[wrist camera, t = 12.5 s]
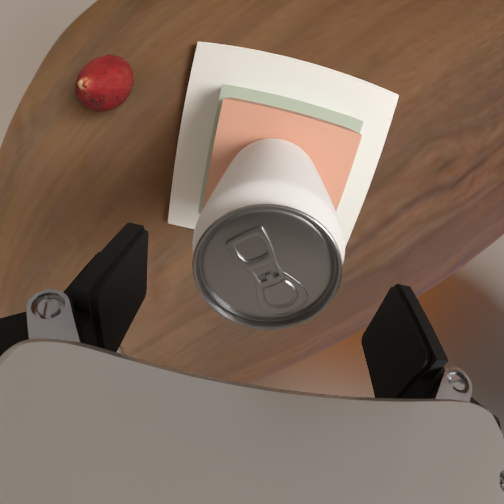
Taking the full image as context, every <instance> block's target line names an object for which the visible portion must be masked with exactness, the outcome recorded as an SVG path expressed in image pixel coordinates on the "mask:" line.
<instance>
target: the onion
mask: <svg viewBox="0 0 504 504" xmlns="http://www.w3.org/2000/svg"><path fill="white" fill-rule="evenodd" d="M133 82H134V81H133V71H132V69H131V67H130V65H129V63H128V62H126V61H125V60H124V59H123V58H121V57H119V56H113V55H106V56H102V57H98V58H95V59H93V60H92V61H91V62H89V63H88V64H87V65H85V67H84V68H83V69H82V71H81V72H80V73H79V75H78V78H77V81H76V94H77V96H78V99H79V100H80V102H81V103H82V104H83V105H84V106H85V107H87V108H89V109H92V110H95V111H107V110H112V109H114V108H116V107H117V106H119V105H120V104H122V103H123V102H124V101H125V100H126V98H127V97H128V95H129V94H130V92H131V89H132V86H133Z"/></svg>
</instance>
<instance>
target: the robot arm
mask: <svg viewBox="0 0 504 504" xmlns="http://www.w3.org/2000/svg"><path fill="white" fill-rule="evenodd" d="M147 252H148V231H146V230H144V226H142V225H138V224H134V223H127V224H126V225H125V226H124V227H123V228H122V230H121V231H120V232H119V233H118V234H117V235H116V236H115V237H114V238H113V239H112V240H111V241H110V242H109V243H108V244H107V246H106V247H105V248H104V249H103V250H102V251H101V252H99V253H97V254H96V255H95V256H94V257H93V259H92V260H91V261H90V262H89V263H88V264H87V265H86V266H85V268H84V269H83V270H82V271H81V272H80V273H79V275H78V276H77V277H76V278H75V279H74V280H73V282H72V283H71V284H70V285H69V286H68V288H67V289H66V290H65V291H64V292H62V291H59V290H55V289H46V290H43V291H39V292H38V293H36V294H34V295H33V296H32V297H31V298H30V299H29V301H28V303H27V308H26V312H23V313H19V314H16V315H12V316H8V317H4V318H0V504H504V436H503V435H502V433H501V427H500V422H499V420H498V418H497V417H496V416H495V415H493V414H492V413H491V412H489V411H488V410H487V409H486V408H484V407H483V406H482V405H480V404H479V403H478V402H477V401H476V400H474V399H473V398H472V397H471V394H472V384H471V381H470V379H469V377H468V376H467V375H466V374H465V373H464V372H463V371H462V370H460V369H458V368H456V367H448V368H447V369H446V370H445V369H444V365H445V364H446V363H447V362H448V359H447V357H446V354H445V352H444V350H443V349H442V346H441V344H440V342H439V340H438V338H437V336H436V334H435V332H434V330H433V328H432V326H431V324H430V322H429V320H428V318H427V316H426V314H425V312H424V311H423V309H422V307H421V305H420V303H419V301H418V300H417V298H416V296H415V294H414V292H413V291H412V289H411V288H410V287H409V286H405V285H400V284H396V285H395V286H394V287H391V288H390V290H389V291H388V293H387V295H386V297H385V298H384V300H383V302H382V304H381V306H380V307H379V309H378V311H377V312H376V314H375V316H374V317H373V319H372V321H371V322H370V324H369V326H368V327H367V329H366V331H365V332H364V334H363V336H362V346H363V350H364V354H365V358H366V361H367V365H368V369H369V373H370V377H371V382H372V386H373V390H374V394H375V398H368V397H350V396H338V395H326V394H315V393H307V392H298V391H290V390H283V389H275V388H269V387H263V386H257V385H250V384H245V383H240V382H234V381H229V380H224V379H219V378H214V377H209V376H205V375H200V374H196V373H191V372H187V371H183V370H179V369H175V368H171V367H167V366H164V365H160V364H156V363H152V362H148V361H145V360H141V359H137V358H134V357H130V356H127V355H124V354H123V353H122V350H121V348H120V347H119V346H120V344H121V342H122V340H123V338H124V336H125V334H126V332H127V330H128V329H129V327H130V325H131V323H132V321H133V319H134V317H135V315H136V313H137V311H138V309H139V308H140V306H141V304H142V302H143V300H144V298H145V295H146V289H147Z"/></svg>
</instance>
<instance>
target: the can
mask: <svg viewBox="0 0 504 504" xmlns="http://www.w3.org/2000/svg"><path fill="white" fill-rule="evenodd" d="M192 248H193V263H192V268H193V276H194V280H195V283H196V286H197V288H198V290H199V292H200V294H201V296H202V297H203V299H204V300H205V301H206V302H207V304H208V305H209V306H210V307H211V308H212V309H213V310H215V311H216V312H217V313H218V314H220V315H221V316H223V317H224V318H226V319H228V320H230V321H232V322H234V323H236V324H239V325H242V326H245V327H249V328H254V329H261V330H277V329H285V328H289V327H293V326H296V325H299V324H302V323H304V322H306V321H308V320H310V319H312V318H313V317H315V316H316V315H318V314H319V313H320V312H322V311H323V310H324V309H325V308H326V307H327V306H328V305H329V303H330V302H331V301H332V299H333V298H334V296H335V295H336V293H337V291H338V288H339V286H340V282H341V278H342V265H343V261H344V255H345V240H344V234H343V230H342V226H341V223H340V220H339V218H338V215H337V213H336V210H335V208H334V206H333V203H332V201H331V199H330V197H329V194H328V192H327V190H326V188H325V186H324V184H323V182H322V179H321V177H320V175H319V173H318V171H317V169H316V167H315V165H314V164H313V162H312V160H311V159H310V157H309V156H308V155H307V154H306V153H305V152H304V151H303V150H302V149H301V148H300V147H298V146H297V145H295V144H293V143H291V142H289V141H286V140H282V139H274V138H270V139H262V140H258V141H256V142H253V143H251V144H249V145H248V146H246V147H245V148H243V149H242V150H241V151H240V152H239V153H238V154H237V155H236V157H235V158H234V159H233V161H232V162H231V164H230V165H229V167H228V168H227V170H226V172H225V173H224V175H223V176H222V178H221V180H220V181H219V183H218V185H217V186H216V188H215V190H214V191H213V193H212V195H211V196H210V198H209V200H208V201H207V203H206V205H205V207H204V208H203V210H202V212H201V214H200V216H199V218H198V221H197V223H196V227H195V230H194V234H193V243H192Z"/></svg>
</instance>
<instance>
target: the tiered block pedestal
mask: <svg viewBox="0 0 504 504" xmlns="http://www.w3.org/2000/svg"><path fill="white" fill-rule="evenodd" d="M398 97H399V95H398V94H395V93H393V92H391V91H388V90H386V89H384V88H381V87H379V86H376V85H374V84H371V83H369V82H366V81H364V80H361V79H358V78H356V77H353V76H350V75H347V74H344V73H341V72H338V71H335V70H332V69H329V68H326V67H322V66H319V65H316V64H312V63H309V62H305V61H302V60H298V59H294V58H290V57H286V56H282V55H277V54H273V53H268V52H263V51H259V50H253V49H248V48H242V47H236V46H230V45H223V44H215V43H207V42H198V43H197V47H196V52H195V56H194V60H193V65H192V69H191V74H190V79H189V84H188V88H187V94H186V99H185V104H184V109H183V115H182V121H181V126H180V133H179V139H178V145H177V152H176V159H175V166H174V173H173V181H172V189H171V198H170V207H169V216H168V223H169V224H173V225H178V226H182V227H186V228H191V229H195V227H196V223H197V221H198V218H199V216H200V214H201V212H202V210H203V208H204V207H205V205H206V203H207V201H208V200H209V198H210V196H211V195H212V193H213V191H214V190H215V188H216V186H217V185H218V183H219V181H220V180H221V178H222V176H223V175H224V173H225V172H226V170H227V168H228V167H229V165H230V164H231V162H232V161H233V159H234V158H235V157H236V155H237V154H238V153H239V152H240V151H241V150H242V149H243V148H245V147H246V146H248V145H249V144H251V143H253V142H256V141H258V140H262V139H270V138H274V139H282V140H286V141H289V142H291V143H293V144H295V145H297V146H298V147H300V148H301V149H302V150H303V151H304V152H305V153H306V154H307V155H308V156H309V157H310V159H311V160H312V162H313V164H314V165H315V167H316V169H317V171H318V173H319V175H320V177H321V179H322V182H323V184H324V186H325V188H326V190H327V192H328V194H329V197H330V199H331V201H332V203H333V206H334V208H335V210H336V213H337V215H338V218H339V220H340V223H341V226H342V230H343V234H344V240H345V247H346V244H347V242H348V240H349V237H350V235H351V232H352V230H353V227H354V225H355V222H356V220H357V217H358V215H359V212H360V210H361V207H362V205H363V202H364V199H365V197H366V194H367V191H368V189H369V186H370V183H371V180H372V178H373V175H374V172H375V169H376V166H377V163H378V161H379V158H380V155H381V152H382V149H383V146H384V143H385V140H386V136H387V133H388V130H389V127H390V124H391V121H392V117H393V114H394V111H395V107H396V104H397V100H398Z"/></svg>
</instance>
